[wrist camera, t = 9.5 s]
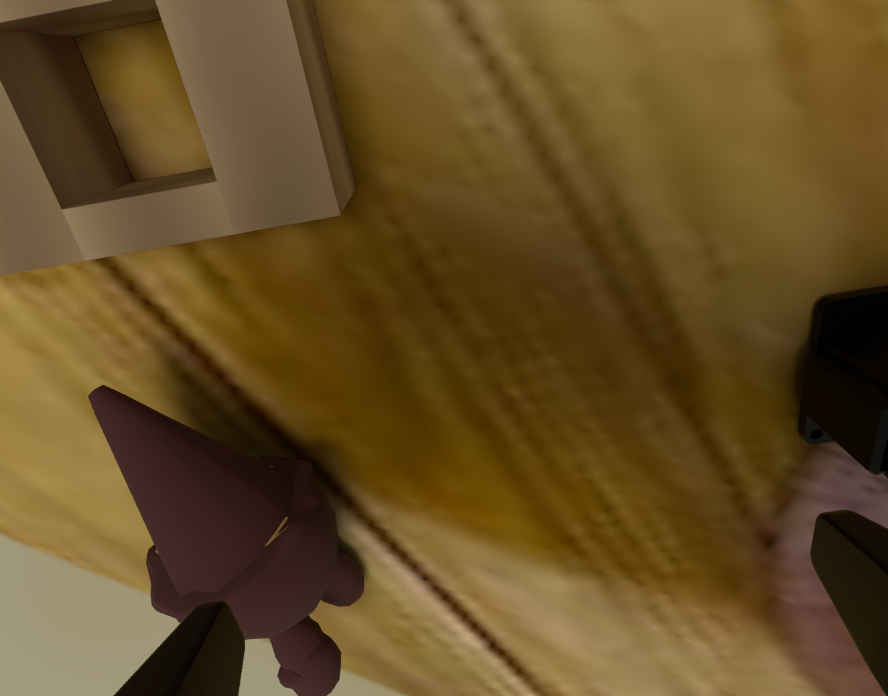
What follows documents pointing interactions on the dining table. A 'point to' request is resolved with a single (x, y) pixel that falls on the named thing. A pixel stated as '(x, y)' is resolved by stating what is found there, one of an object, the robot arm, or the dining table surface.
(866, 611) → the robot arm
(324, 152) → the socket block
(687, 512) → the dining table surface
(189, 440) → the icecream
